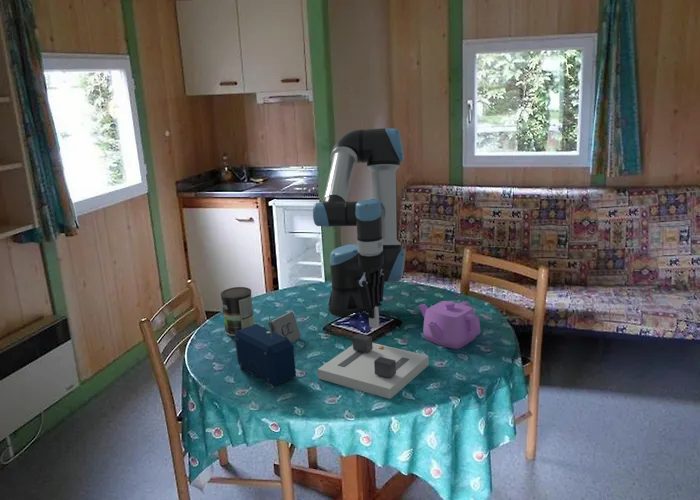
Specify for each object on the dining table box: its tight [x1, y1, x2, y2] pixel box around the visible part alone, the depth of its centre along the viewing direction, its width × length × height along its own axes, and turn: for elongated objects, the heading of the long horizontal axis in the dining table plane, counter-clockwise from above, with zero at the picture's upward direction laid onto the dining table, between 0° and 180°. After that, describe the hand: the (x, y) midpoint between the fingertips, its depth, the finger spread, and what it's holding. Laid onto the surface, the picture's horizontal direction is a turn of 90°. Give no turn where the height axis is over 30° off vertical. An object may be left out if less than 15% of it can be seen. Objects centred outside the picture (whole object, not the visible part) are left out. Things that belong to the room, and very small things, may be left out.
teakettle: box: [418, 300, 481, 350], centre depth 200 cm, size 17×17×12 cm
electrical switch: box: [268, 311, 301, 344], centre depth 206 cm, size 9×5×9 cm, turn 141°
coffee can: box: [220, 286, 255, 337], centre depth 216 cm, size 10×10×14 cm
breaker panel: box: [317, 342, 430, 400], centre depth 183 cm, size 22×24×3 cm
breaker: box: [374, 357, 396, 378], centre depth 174 cm, size 3×5×4 cm, turn 56°
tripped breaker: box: [352, 333, 373, 353], centre depth 190 cm, size 3×5×4 cm, turn 55°
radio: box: [234, 313, 297, 387], centre depth 184 cm, size 21×9×20 cm, turn 42°
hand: (374, 326), depth 194 cm, fingers closed
